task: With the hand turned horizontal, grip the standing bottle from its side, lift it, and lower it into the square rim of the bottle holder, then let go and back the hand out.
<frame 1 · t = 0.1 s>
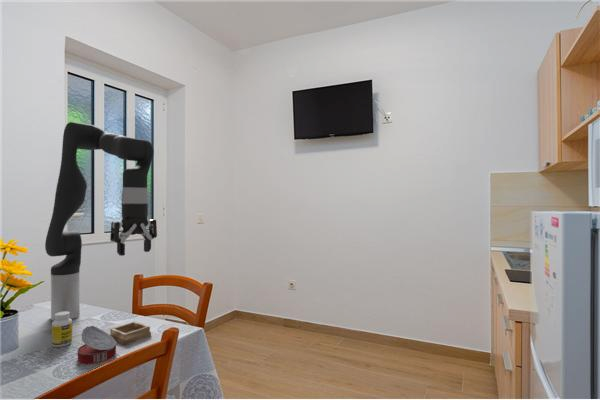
hand: (134, 253, 112), 29 cm above the table, tool pointing down, fingers open, 8 cm apart
canned food: (97, 357, 105), on the table
bottle holder: (130, 337, 118), on the table
supplement bottle: (62, 344, 113), on the table
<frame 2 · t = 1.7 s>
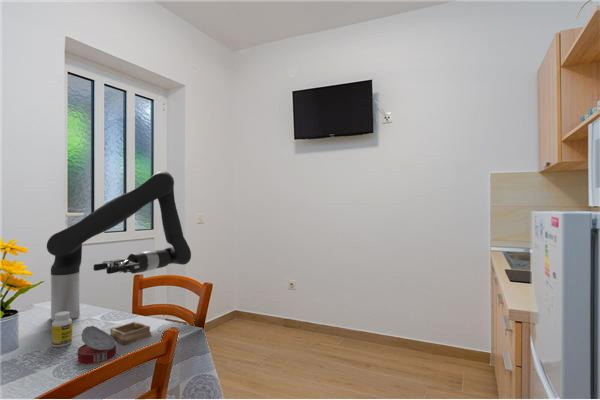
hand: (100, 269, 123), 22 cm above the table, tool horizontal, fingers open, 8 cm apart
nothing on the table moved.
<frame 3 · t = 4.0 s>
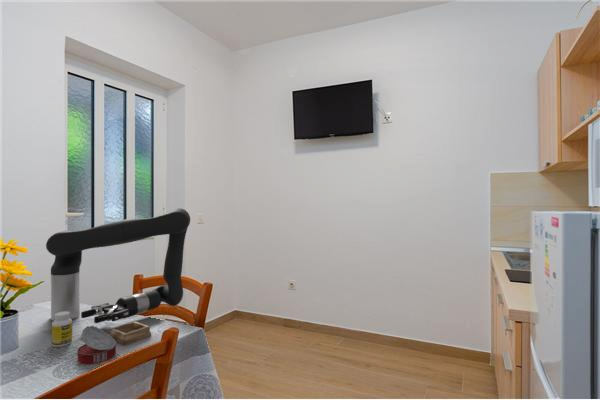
hand: (88, 317, 119), 6 cm above the table, tool horizontal, fingers open, 8 cm apart
nothing on the table moved.
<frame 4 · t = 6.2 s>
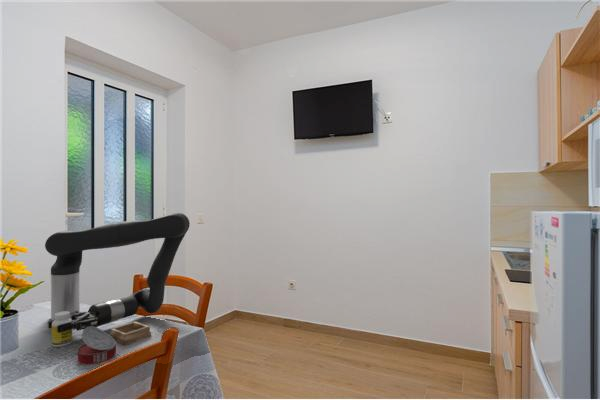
hand: (53, 327, 111), 6 cm above the table, tool horizontal, fingers closed on supplement bottle, 5 cm apart
supplement bottle: (62, 344, 113), on the table, touching gripper
everything else where it was.
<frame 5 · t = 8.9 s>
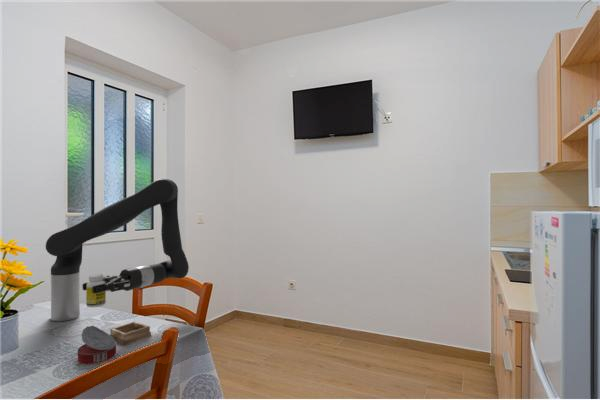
hand: (88, 288, 113), 18 cm above the table, tool horizontal, fingers closed on supplement bottle, 5 cm apart
supplement bottle: (96, 305, 115), point 11 cm above the table, touching gripper
everything else where it was.
when the fingers open (8 cm above the table, at t = 11.8 s): supplement bottle stays where it is, resting on bottle holder.
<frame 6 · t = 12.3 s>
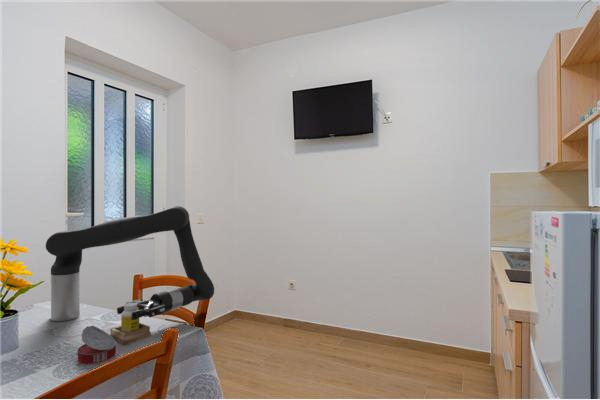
hand: (124, 313, 117), 8 cm above the table, tool horizontal, fingers open, 8 cm apart
supplement bottle: (130, 334, 118), point 1 cm above the table, touching bottle holder
everything else where it was.
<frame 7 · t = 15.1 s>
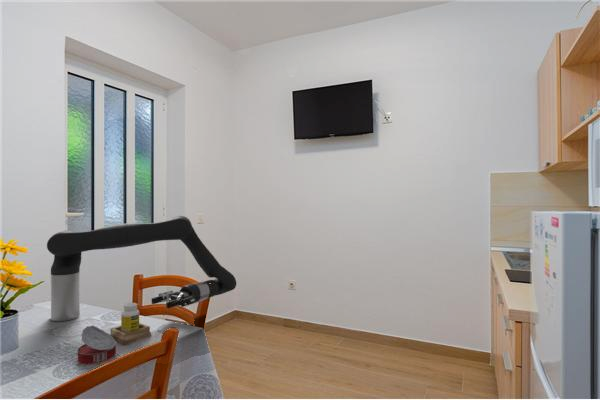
hand: (159, 303, 127), 9 cm above the table, tool horizontal, fingers open, 8 cm apart
nothing on the table moved.
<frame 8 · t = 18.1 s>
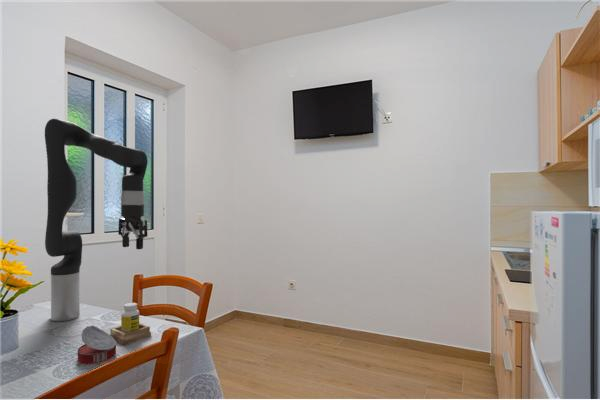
hand: (132, 248, 129), 28 cm above the table, tool pointing down, fingers open, 8 cm apart
nothing on the table moved.
at the end: supplement bottle 0.1 cm off-centre on the bottle holder, point 1.0 cm above the bottle holder's base; supplement bottle tilted 0°; the gripper is holding nothing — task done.
